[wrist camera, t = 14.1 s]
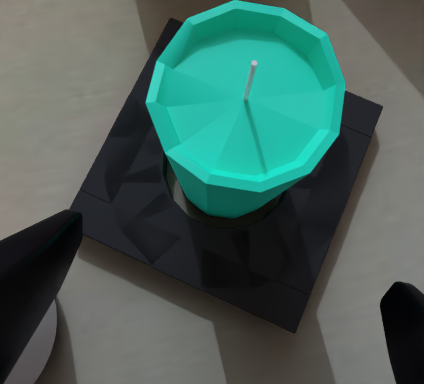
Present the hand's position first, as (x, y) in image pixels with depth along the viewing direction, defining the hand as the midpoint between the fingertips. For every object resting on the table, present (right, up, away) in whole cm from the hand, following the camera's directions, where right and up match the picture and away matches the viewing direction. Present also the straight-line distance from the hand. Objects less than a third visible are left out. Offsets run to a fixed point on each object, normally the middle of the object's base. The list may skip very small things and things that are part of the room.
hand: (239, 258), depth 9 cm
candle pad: (0, +3, +11) cm, 11 cm away
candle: (0, +3, +11) cm, 11 cm away
